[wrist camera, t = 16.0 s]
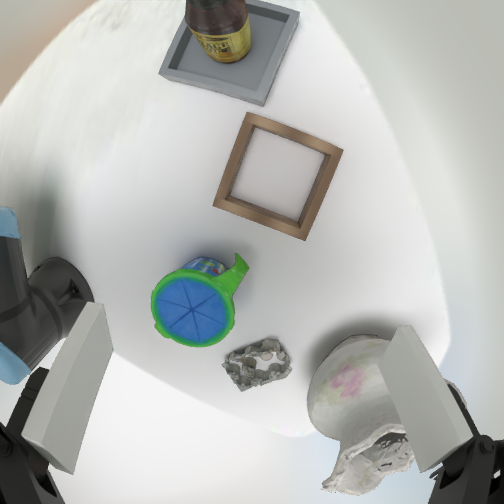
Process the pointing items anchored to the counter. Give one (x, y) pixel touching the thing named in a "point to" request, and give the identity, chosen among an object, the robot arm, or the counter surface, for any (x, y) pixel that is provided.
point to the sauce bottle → (220, 28)
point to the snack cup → (197, 301)
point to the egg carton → (249, 365)
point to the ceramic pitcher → (359, 416)
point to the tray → (243, 71)
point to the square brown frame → (261, 214)
